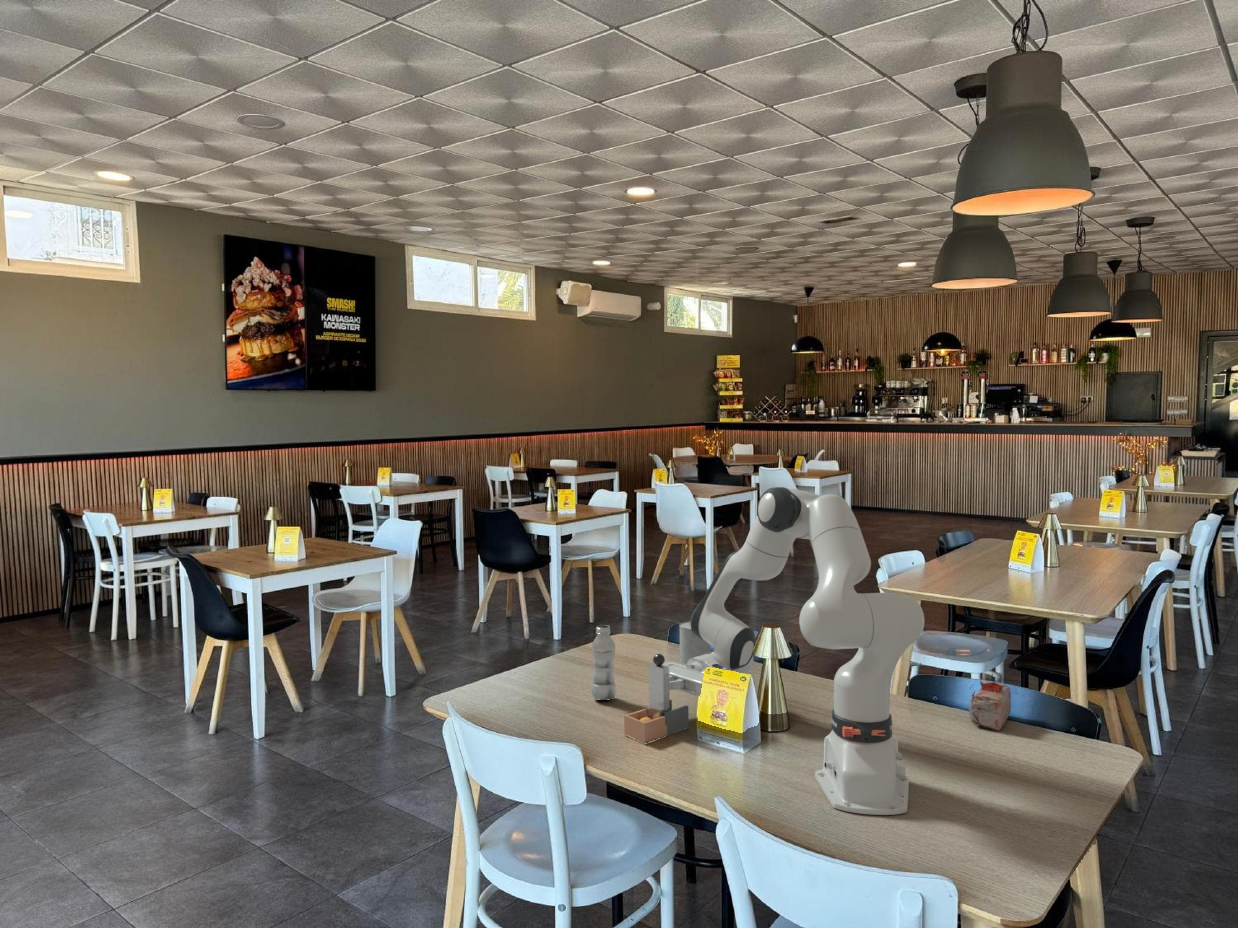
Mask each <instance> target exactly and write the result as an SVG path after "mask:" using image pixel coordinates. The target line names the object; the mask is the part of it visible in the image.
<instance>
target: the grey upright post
mask: <svg viewBox="0 0 1238 928" xmlns="http://www.w3.org/2000/svg"><path fill="white" fill-rule="evenodd" d="M665 660H666V659H665V656H664V655H663V654H662V653H656V654H655V655H654V656H653V658H652V661H653V662H651V663H648V692H649V694H648V695H649V696H648V697H649V698H648V700H649V701H648V703H649V705H647V707H646V709H647V708H648V714H647V717H648V718H650V719H652V720H653V719H656V718H659V717H662V716H664V713H665V712H668V711H669V708H670V700H671V699H670V690H669V667H668V666H665V665H662V664H663V663H665V662H666V661H665Z"/></svg>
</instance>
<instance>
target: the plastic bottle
mask: <svg viewBox="0 0 1238 928" xmlns="http://www.w3.org/2000/svg"><path fill="white" fill-rule="evenodd" d="M595 627H596V628H595V634H596V636H595V638H594V639H593V641H592V643H591V653H592V661H593V679H592V680H593V682H592V686H591V694H592V697H593V699H594V698H596V699H600V700H607V699H612V698H615V697H616V693H617V687H616V682H615V673H614V672H615V671H614V666H615V653H616V643H615V641H614V639H613V638H612V637H611V636H610V634H611V627H610V625H606V624H599V625H597V626H595ZM612 700H613V699H612Z"/></svg>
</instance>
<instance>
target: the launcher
mask: <svg viewBox="0 0 1238 928" xmlns="http://www.w3.org/2000/svg"><path fill="white" fill-rule="evenodd" d="M672 701H673V700H672V699H670V708H669V711H668V712H665V713H664V716H665V724H667V735H669V734H671V735H673V734H672V733H674V734H676V733H675V732H677V733H679V732H678V731H680V730H683V729H685V728H688V727H689V726H690V725H689V724H690V723H689V715H690V714H689V705H683V706H680V707H677V708H674V709H673V702H672ZM646 715H648V708H647V707H646ZM688 729H689V728H688ZM685 730H686V729H685ZM683 731H684V730H683ZM680 732H681V731H680ZM669 736H670V735H669Z"/></svg>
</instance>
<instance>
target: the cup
mask: <svg viewBox="0 0 1238 928" xmlns="http://www.w3.org/2000/svg"><path fill="white" fill-rule="evenodd" d="M644 717H648V714H647V708H643V709H640V710H637V711H633V712H630V713H627V714H625V715H624V717H623V718H624V720H623V722H624V726H623V727H624V728H623V729H624V735H625V734H626V735H629V736H631V737H633V738H635V739H636V740H639V741H641V742H643V743H648V742H650V741H653V740H656V739H658V738H662V737H664V736H667V724H665V716H662V717H659V718H656V719H653V720H650V721H647V722H643V721H641V720H640V719H642V718H644ZM667 737H668V736H667ZM662 739H663V738H662ZM648 744H649V743H648Z"/></svg>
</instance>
